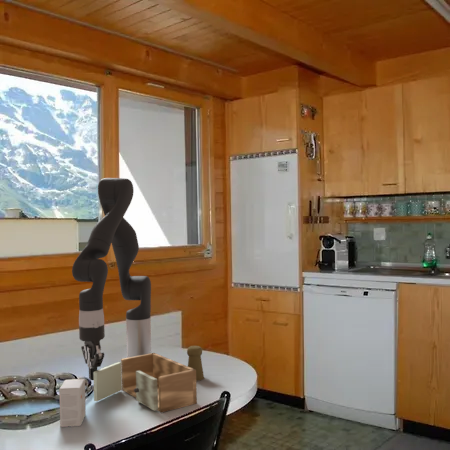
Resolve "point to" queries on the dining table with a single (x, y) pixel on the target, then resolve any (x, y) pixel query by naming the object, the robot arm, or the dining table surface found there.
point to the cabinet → (159, 382)
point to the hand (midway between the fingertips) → (93, 379)
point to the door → (107, 381)
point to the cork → (195, 361)
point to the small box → (72, 402)
